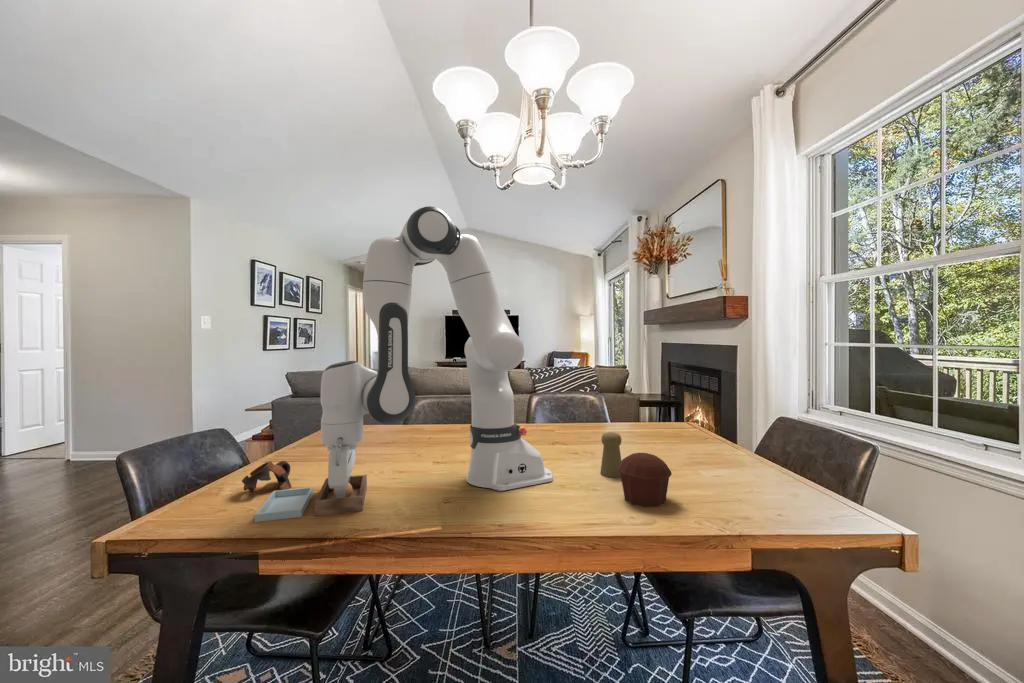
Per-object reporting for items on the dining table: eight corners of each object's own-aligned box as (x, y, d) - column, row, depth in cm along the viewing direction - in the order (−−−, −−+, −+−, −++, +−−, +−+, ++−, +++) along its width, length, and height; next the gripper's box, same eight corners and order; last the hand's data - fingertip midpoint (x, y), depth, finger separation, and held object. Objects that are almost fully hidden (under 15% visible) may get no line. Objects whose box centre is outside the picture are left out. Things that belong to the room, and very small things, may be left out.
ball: (353, 495, 97) (353, 478, 97) (351, 502, 93) (351, 484, 93) (334, 497, 96) (334, 480, 96) (332, 504, 92) (332, 485, 92)
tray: (313, 495, 99) (313, 486, 99) (301, 519, 86) (301, 509, 86) (273, 499, 97) (273, 490, 97) (254, 524, 84) (254, 514, 84)
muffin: (682, 501, 93) (682, 456, 93) (652, 514, 86) (652, 465, 86) (637, 486, 102) (636, 445, 102) (607, 497, 96) (606, 453, 96)
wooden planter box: (366, 488, 103) (366, 474, 103) (362, 513, 88) (362, 496, 88) (326, 492, 101) (326, 478, 101) (315, 519, 86) (314, 502, 86)
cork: (626, 477, 109) (625, 435, 109) (602, 478, 109) (602, 435, 109) (620, 470, 115) (619, 430, 115) (598, 470, 115) (597, 430, 115)
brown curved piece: (281, 500, 98) (259, 472, 96) (249, 516, 99) (228, 489, 98) (308, 472, 109) (289, 446, 108) (279, 486, 111) (260, 461, 109)
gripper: (353, 443, 85) (354, 510, 85) (360, 424, 105) (361, 479, 105) (319, 445, 84) (320, 514, 84) (333, 425, 103) (334, 482, 103)
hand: (343, 494), depth 95 cm, fingers open, 8 cm apart
